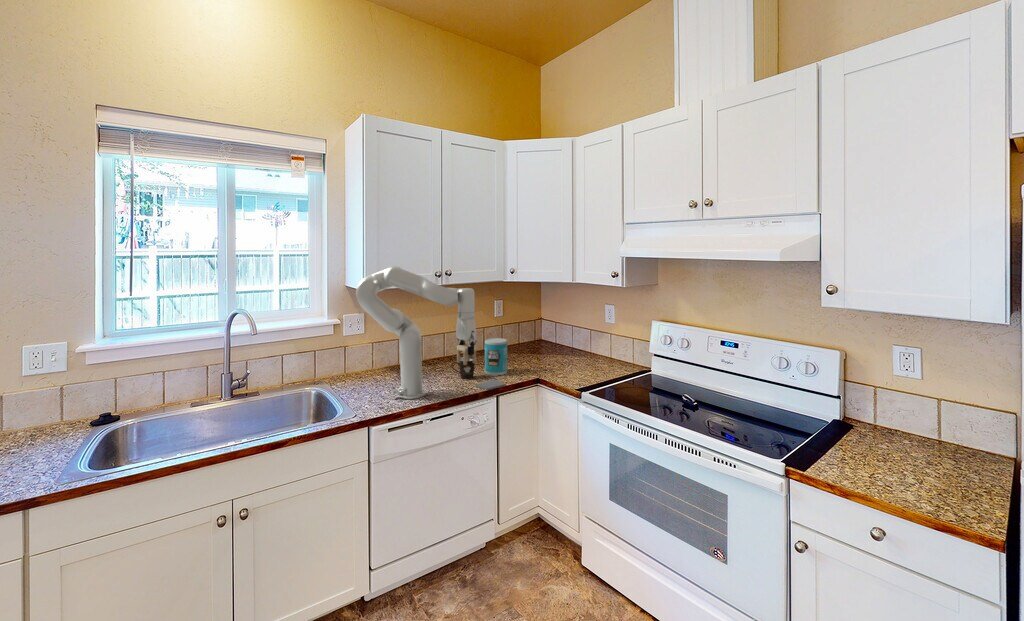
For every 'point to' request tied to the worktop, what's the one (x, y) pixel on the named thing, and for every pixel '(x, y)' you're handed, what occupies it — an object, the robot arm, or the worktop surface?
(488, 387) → the mat
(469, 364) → the coffee mug
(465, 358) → the wooden u-shaped block
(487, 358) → the food can
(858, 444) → the worktop surface
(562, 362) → the worktop surface
